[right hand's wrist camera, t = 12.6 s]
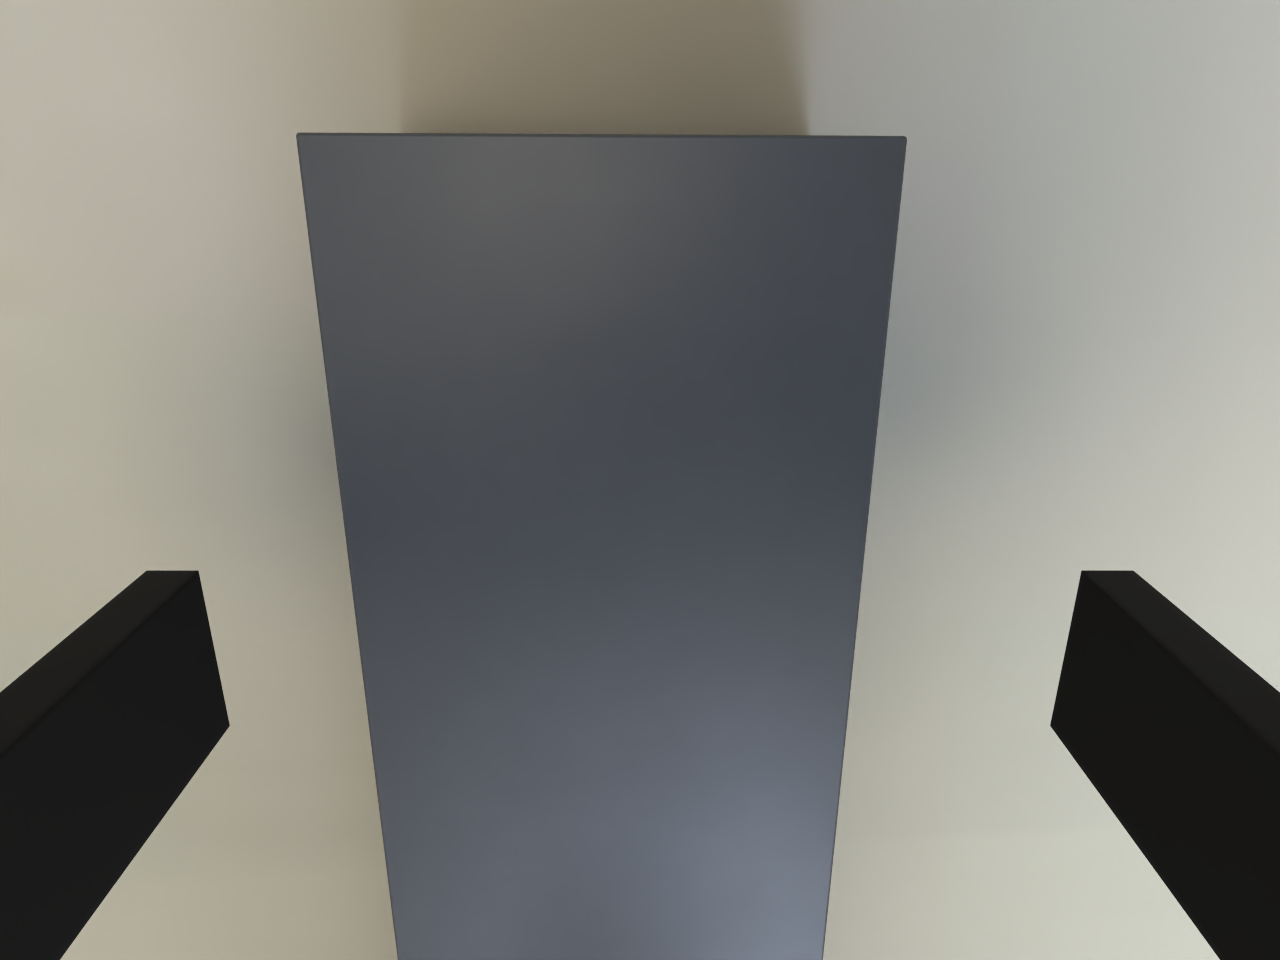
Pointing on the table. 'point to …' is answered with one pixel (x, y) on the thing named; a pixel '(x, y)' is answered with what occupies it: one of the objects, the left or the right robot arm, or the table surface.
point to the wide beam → (605, 522)
